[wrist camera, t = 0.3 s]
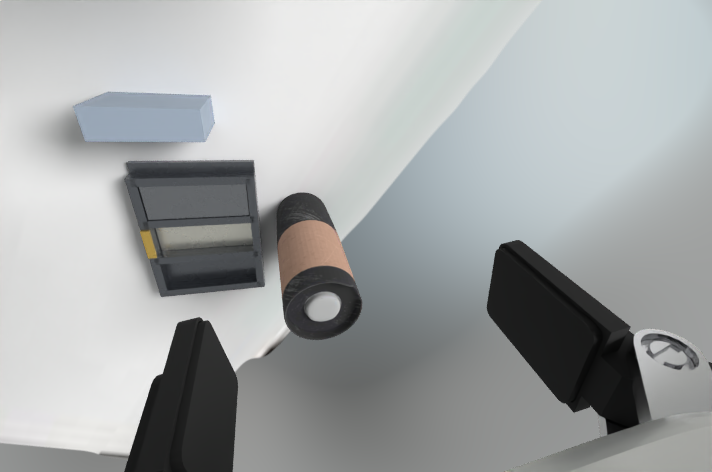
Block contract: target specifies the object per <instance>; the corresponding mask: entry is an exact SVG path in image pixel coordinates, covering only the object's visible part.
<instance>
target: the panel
mask: <svg viewBox="0 0 712 472" xmlns="http://www.w3.org/2000/svg"><path fill="white" fill-rule="evenodd" d="M73 108H74V111H75V114H76V117H77V119H78V122H79V125H80V128H81V131H82V134H83V136H84V139H85V142H206V140H207V138H208V136H209V134H210V131H211V129H212V127H213V125H214V123H215V122H214V115H213V108H212V101H211V96H209V95H182V94H154V93H126V92H107V93H104V94H102V95H99V96H97V97H94V98H92V99H90V100H87V101H85V102H82V103H80V104H77V105H75V106H73Z"/></svg>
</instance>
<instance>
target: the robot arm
mask: <svg viewBox="0 0 712 472" xmlns="http://www.w3.org/2000/svg"><path fill="white" fill-rule="evenodd" d="M487 311H488V314H489V316H490V317H491V318H492V319H493V321H494V322H495V323H496V324H497V326H498V327H499V328H500V329H501V331H502V332H503V333H504V334H505V335H506V337H507V338H508V339H509V340H510V342H511V343H512V344H513V345H514V346H515V348H516V349H517V350H518V351H519V352H520V354H521V355H522V356H523V357H524V359H525V360H526V361H527V362H528V363H529V365H530V366H531V367H532V368H533V370H534V371H535V372H536V373H537V374H538V376H539V377H540V378H541V379H542V380H543V382H544V383H545V384H546V385H547V387H548V388H549V389H550V390H551V392H552V393H553V394H554V395H555V396H556V397H557V399H558V400H559V401H561V402H562V403H566V404H567V405H568V406H569V407H570V409H571V410H572V411H573V412H577V411H580V410H583V409H586V408H589V407H590V405H591V407H593V409H594V410H595V411H596V412H597V413H598V423H599V432H600V438H597V439H594V440H592V441H589V442H586V443H583V444H580V445H578V446H575V447H572V448H569V449H566V450H564V451H561V452H558V453H555V454H552V455H550V456H547V457H544V458H541V459H538V460H535V461H533V462H530V463H527V464H524V465H521V466H518V467H516V468H513V469H510V470H507V471H504V472H712V363H710V362H708V361H707V359H706V358H705V357H704V355H703V353H702V352H701V351H700V350H699V349H698V348H697V347H695V346H694V345H693V344H691V343H690V342H688V341H687V340H685V339H684V338H682V337H680V336H677V335H675V334H673V333H669V332H666V331H663V330H657V329H644V330H641V331H639V332H637V333H636V334H635V335H634V334H632V333H631V332H630V331H629V329H630V326H629V325H628V324H626V323H625V322H624V321H622V320H621V319H620V318H619V317H617V316H616V315H615V314H614V313H612V312H611V311H610V310H608V309H607V308H606V307H605V306H603V305H602V304H601V303H600V302H598V301H597V300H596V299H595V298H593V297H592V296H591V295H589V294H588V293H587V292H586V291H584V290H583V289H582V288H580V287H579V286H578V285H577V284H575V283H574V282H573V281H572V280H570V279H569V278H568V277H566V276H565V275H564V274H563V273H561V272H560V271H558V269H556V268H555V267H553V266H552V265H551V264H550V263H549V262H547V261H546V260H545V259H544V258H542V257H541V256H540V255H538V254H537V253H536V252H534V251H533V250H532V249H531V248H529V247H528V246H527V245H526V244H524V243H523V242H521V241H520V240H516V241H512V242H508V243H504V244H501V245H500V247H499V249H498V250H497V251H496V253H495V258H494V265H493V271H492V278H491V284H490V290H489V296H488V302H487ZM237 393H238V382H237V377H236V374H235V372H234V370H233V368H232V366H231V364H230V362H229V360H228V358H227V356H226V354H225V352H224V350H223V348H222V346H221V344H220V342H219V339H218V337H217V335H216V333H215V331H214V329H213V327H212V325H211V323H210V322H209V321H203V320H202V318H200V317H198V318H194V319H190V320H186V321H182V322H179V323H178V324H177V326H176V330H175V333H174V337H173V340H172V344H171V347H170V351H169V354H168V358H167V361H166V365H165V368H164V372H163V374H161V375H158V376H156V378H155V379H154V380H153V382H152V385H151V388H150V391H149V394H148V397H147V400H146V404H145V407H144V410H143V413H142V417H141V420H140V423H139V426H138V429H137V433H136V436H135V439H134V442H133V445H132V449H131V452H130V455H129V458H128V461H127V465H126V468H125V471H124V472H232V470H233V456H234V440H235V424H236V408H237Z"/></svg>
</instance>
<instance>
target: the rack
mask: <svg viewBox="0 0 712 472" xmlns="http://www.w3.org/2000/svg"><path fill="white" fill-rule="evenodd" d="M127 165H128V169H129V172H130V174H129V175H128V176H127V177H126V178H125V182H126V185H127V188H128V191H129V195H130V198H131V201H132V204H133V208H134V211H135V214H136V217H137V220H138V224H139V227H140V230H141V231H140V234H141V237H142V240H143V243H144V247H145V250H146V253H147V256H148V259H150V263H151V266H152V269H153V272H154V276H155V279H156V282H157V285H158V288H159V292H160V295H161V297H165V296H175V295H185V294H195V293H205V292H215V291H225V290H235V289H245V288H256V287H265V286H264V285H265V279H264V268H263V257H262V246H261V235H260V224H259V213H258V202H257V191H256V180H255V169H254V160H221V161H128V162H127Z"/></svg>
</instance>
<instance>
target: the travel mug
mask: <svg viewBox="0 0 712 472" xmlns="http://www.w3.org/2000/svg"><path fill="white" fill-rule="evenodd" d="M277 250H278V260H279V270H280V280H281V290H282V301H283V311H284V319H285V322H286V325H287V327H288V328H289V329H290V330H291V331H292V332H293V333H294V334H296V335H297V336H299V337H302V338H305V339H310V340H323V339H328V338H331V337H335V336H337V335H339V334H341V333H343V332H345V331H346V330H348V329H349V328H350V327H351V326H352V325H353V324H354V323H355V322H356V321H357V319H358V317H359V315H360V313H361V309H362V299H361V297H360V294H359V291H358V289H357V286H356V283H355V280H354V278H353V275H352V272H351V270H350V267H349V264H348V261H347V258H346V256H345V253H344V250H343V247H342V245H341V242H340V239H339V236H338V234H337V232H336V229H335V227H334V225H333V223H332V220H331V218H330V216H329V214H328V212H327V209H326V207H325V205H324V204H323V202H322V201H321V200H320V199H319V198H318V197H316V196H315V195H312V194H309V193H296V194H293V195H290V196H289V197H287V198H286V199H284V200H283V201H282V203H281V204H280V206H279V208H278V211H277Z"/></svg>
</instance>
